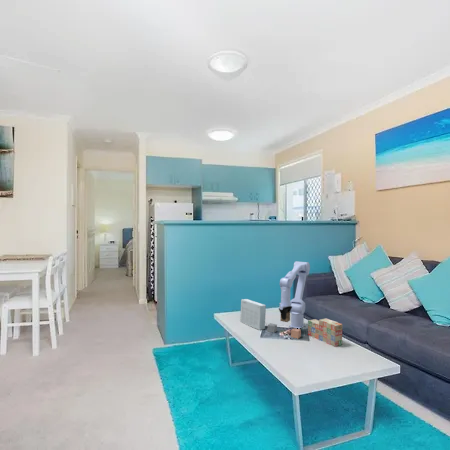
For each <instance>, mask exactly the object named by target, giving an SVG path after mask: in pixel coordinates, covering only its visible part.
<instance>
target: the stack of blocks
mask: <svg viewBox="0 0 450 450" xmlns="http://www.w3.org/2000/svg"><path fill="white" fill-rule="evenodd" d="M307 335H308V336H310V337H312V338H313V339H317V340H318V341H321V342H323V343H325V344H328V345H330V346H332V347H338V346H339V347H340V346H342V345H343V323H340V322H338V321H335V320H332V319H329V318H321V319H319V320H318V319H316V318H314V319H310V320H307Z"/></svg>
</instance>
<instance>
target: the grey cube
mask: <svg viewBox="0 0 450 450" xmlns="http://www.w3.org/2000/svg"><path fill="white" fill-rule="evenodd" d="M266 330H267V331H268V333H270V332H273V333H272V334H275V333H277V332H276V331H278V324H276V323H268V324H267V329H266ZM274 332H275V333H274Z"/></svg>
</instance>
